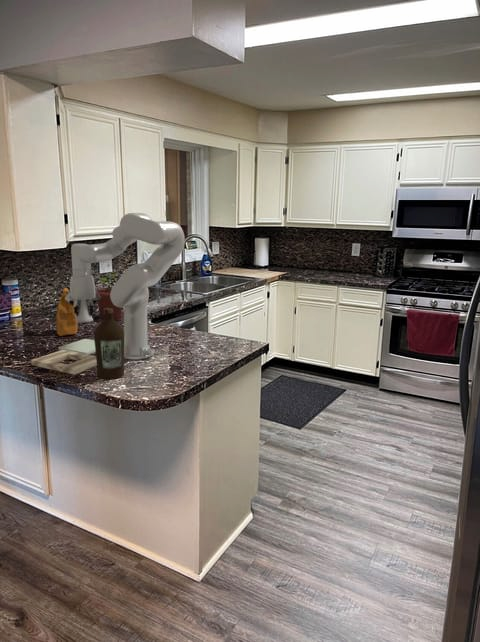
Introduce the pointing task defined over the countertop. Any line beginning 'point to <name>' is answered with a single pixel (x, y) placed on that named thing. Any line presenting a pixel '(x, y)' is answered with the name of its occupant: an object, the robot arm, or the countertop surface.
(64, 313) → the coffee package
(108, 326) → the olive oil
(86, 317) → the flask
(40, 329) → the countertop surface
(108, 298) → the potted plant
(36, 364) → the tan flat rectangular frame
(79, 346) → the sage tile
